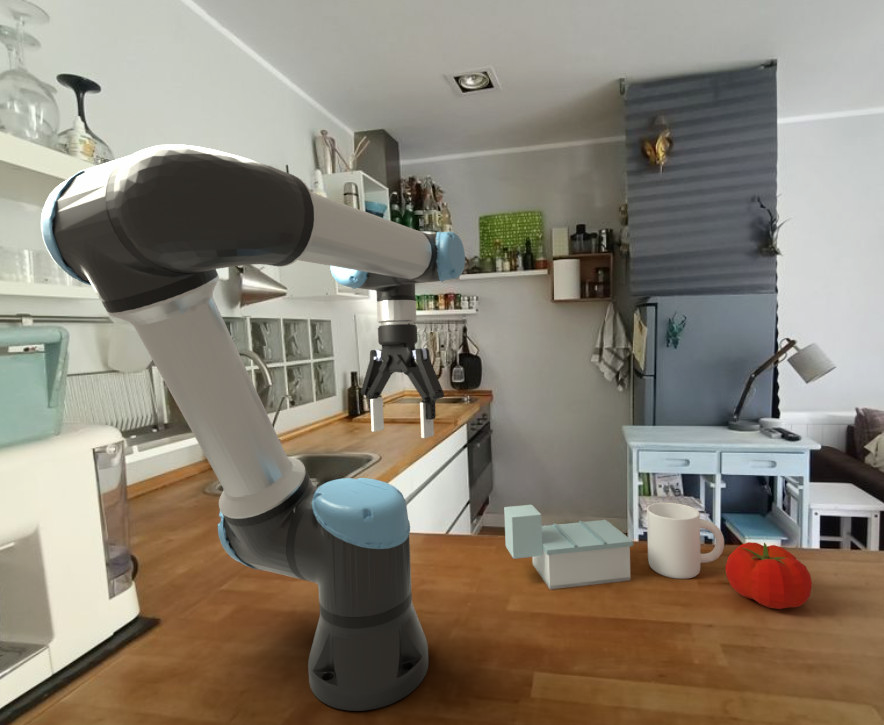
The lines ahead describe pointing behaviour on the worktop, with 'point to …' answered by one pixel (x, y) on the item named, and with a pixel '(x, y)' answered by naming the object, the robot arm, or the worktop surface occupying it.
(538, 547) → the lid
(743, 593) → the tomato
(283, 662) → the worktop surface
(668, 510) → the mug
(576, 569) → the tub
